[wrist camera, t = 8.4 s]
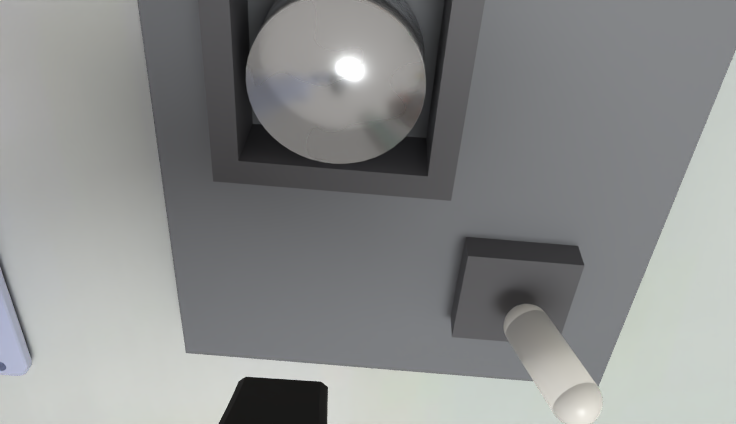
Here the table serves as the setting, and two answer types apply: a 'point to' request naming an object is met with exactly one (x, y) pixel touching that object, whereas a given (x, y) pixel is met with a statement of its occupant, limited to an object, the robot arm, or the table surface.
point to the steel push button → (338, 76)
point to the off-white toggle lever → (553, 365)
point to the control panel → (435, 183)
